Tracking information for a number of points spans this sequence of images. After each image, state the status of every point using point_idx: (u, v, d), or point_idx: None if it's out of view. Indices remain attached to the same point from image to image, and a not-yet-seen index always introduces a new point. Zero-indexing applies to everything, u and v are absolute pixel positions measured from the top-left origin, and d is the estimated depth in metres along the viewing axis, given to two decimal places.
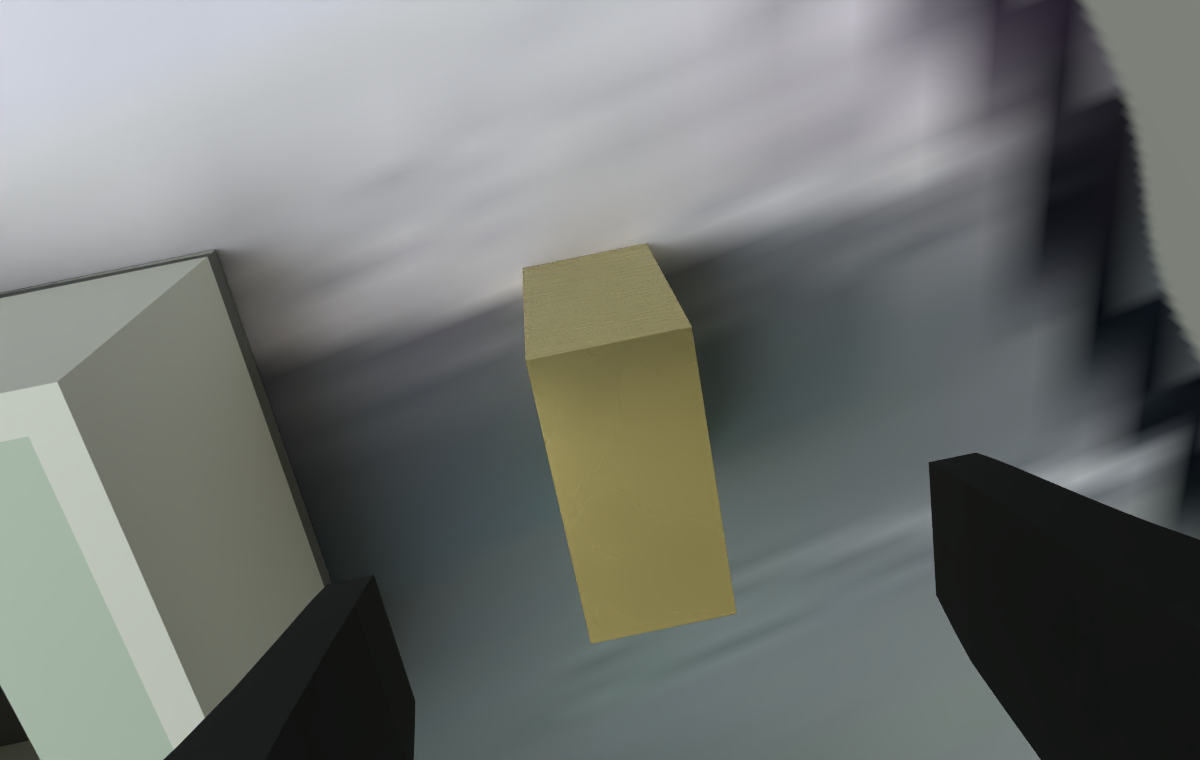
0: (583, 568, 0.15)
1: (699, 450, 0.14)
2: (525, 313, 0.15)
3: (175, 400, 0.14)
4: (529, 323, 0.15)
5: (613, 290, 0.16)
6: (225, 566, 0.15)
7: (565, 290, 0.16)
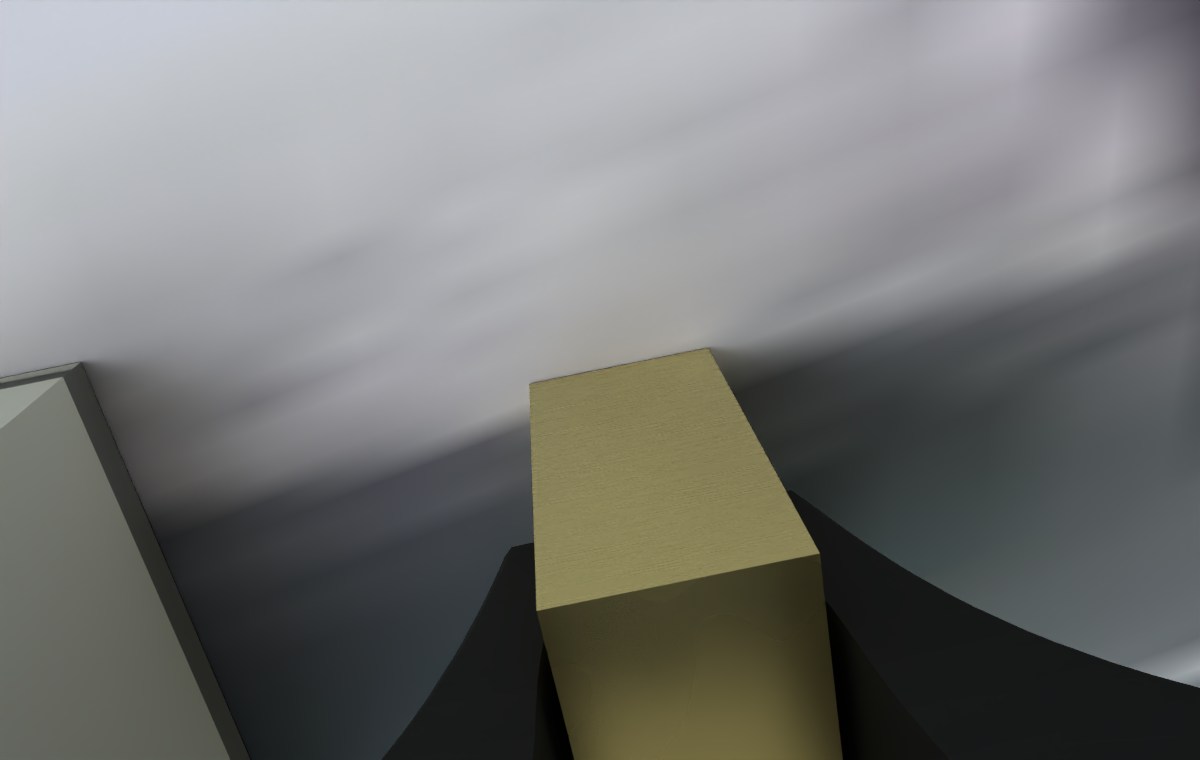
0: None
1: (821, 737, 0.09)
2: (534, 486, 0.10)
3: None
4: (541, 511, 0.09)
5: (670, 447, 0.10)
6: None
7: (595, 439, 0.11)
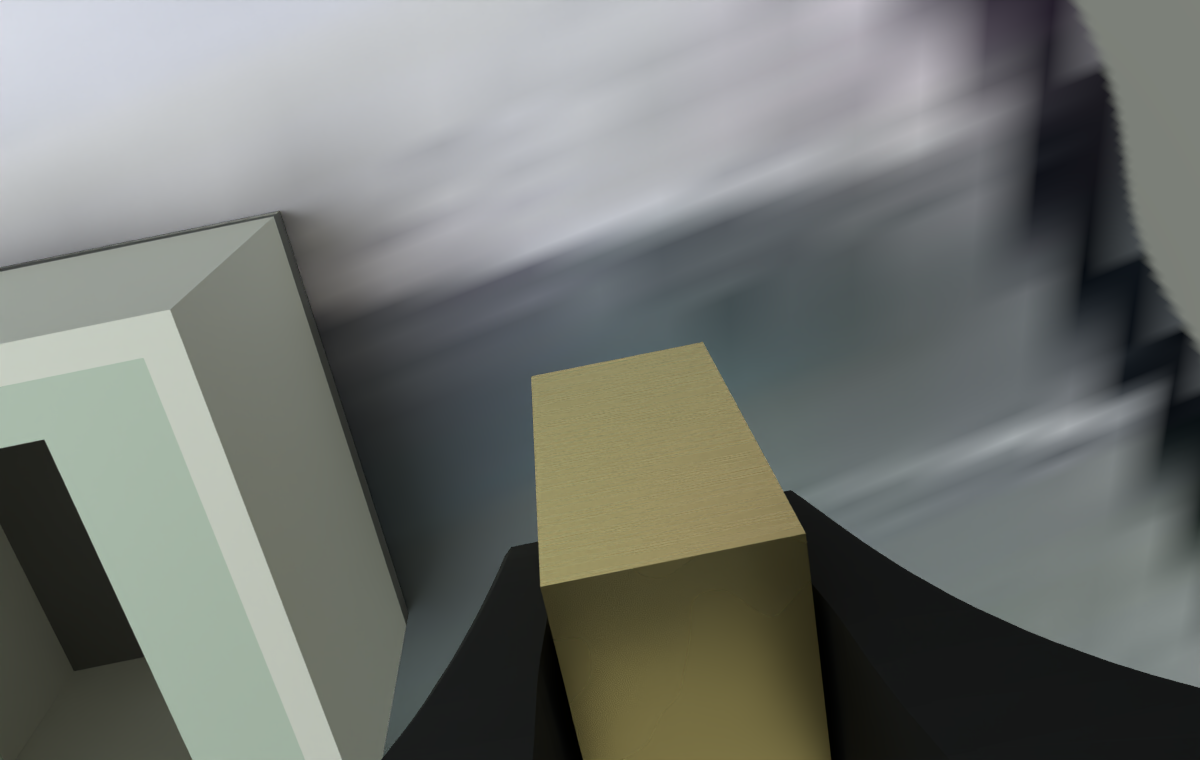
0: None
1: (807, 708, 0.09)
2: (537, 472, 0.10)
3: (254, 338, 0.16)
4: (544, 495, 0.10)
5: (666, 436, 0.11)
6: (296, 488, 0.17)
7: (594, 429, 0.11)
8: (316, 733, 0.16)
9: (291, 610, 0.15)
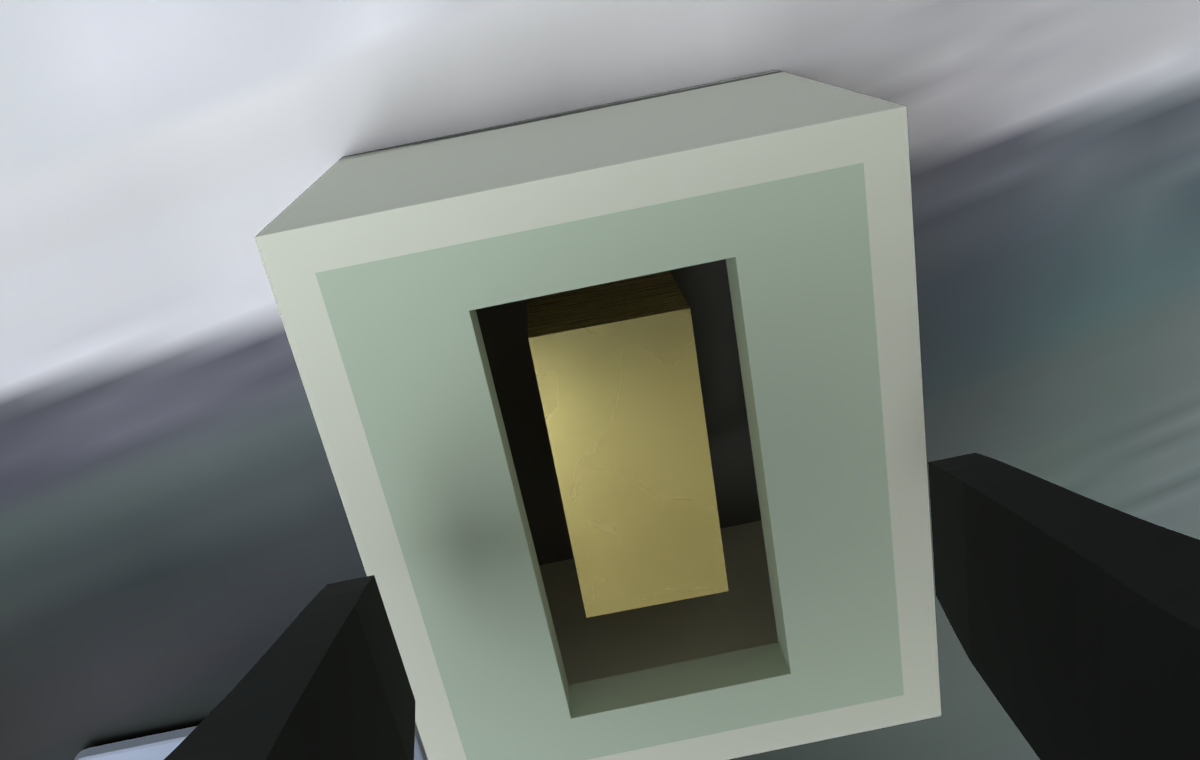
0: (580, 543, 0.15)
1: (695, 429, 0.15)
2: None
3: None
4: (532, 304, 0.15)
5: None
6: None
7: None
8: (919, 603, 0.15)
9: (921, 463, 0.14)
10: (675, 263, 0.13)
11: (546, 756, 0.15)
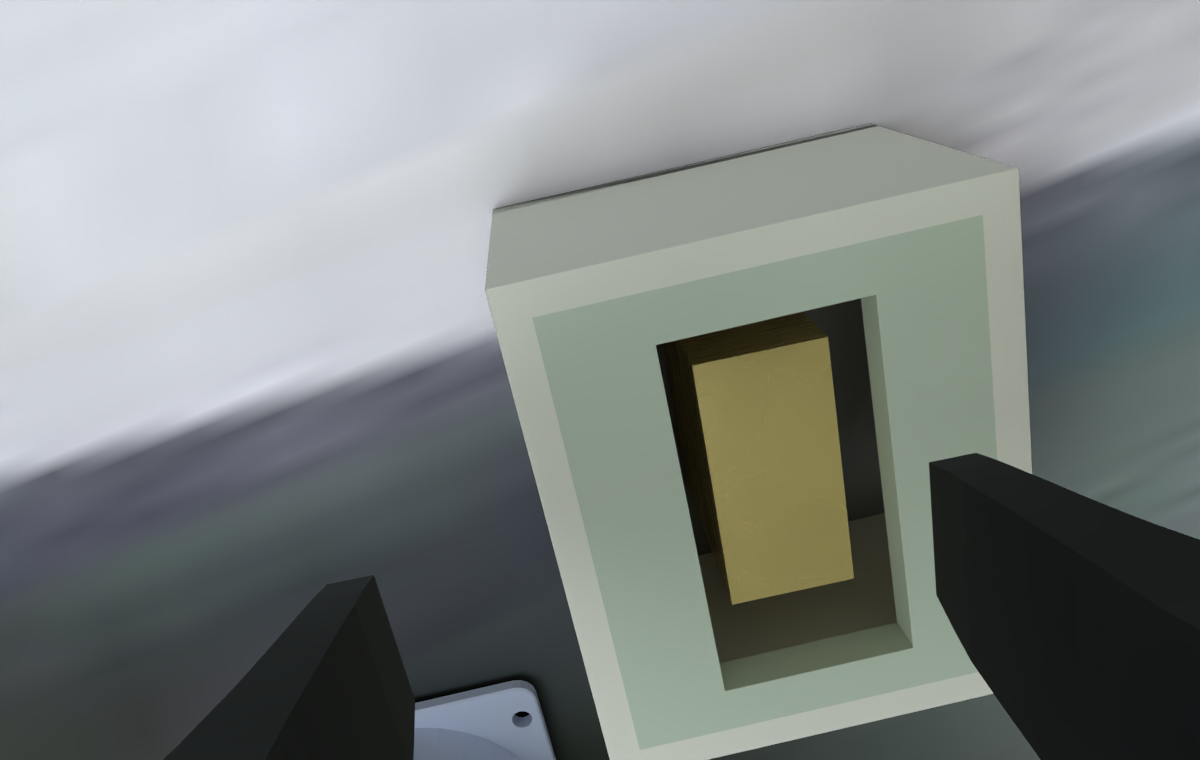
0: (729, 539, 0.18)
1: (829, 439, 0.17)
2: None
3: None
4: None
5: None
6: None
7: None
8: None
9: (1025, 463, 0.17)
10: (826, 301, 0.15)
11: (702, 725, 0.18)
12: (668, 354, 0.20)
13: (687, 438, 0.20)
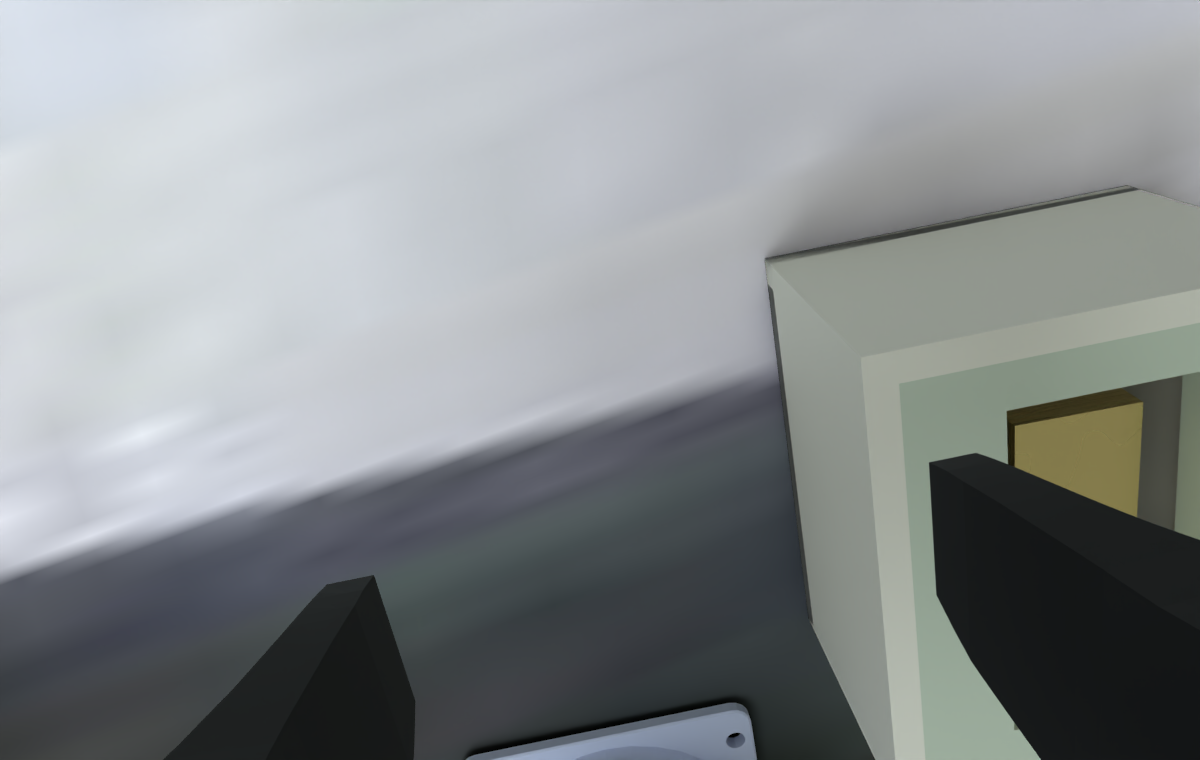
0: None
1: (1129, 496, 0.18)
2: None
3: None
4: None
5: None
6: None
7: None
8: None
9: None
10: (1168, 373, 0.16)
11: None
12: None
13: None
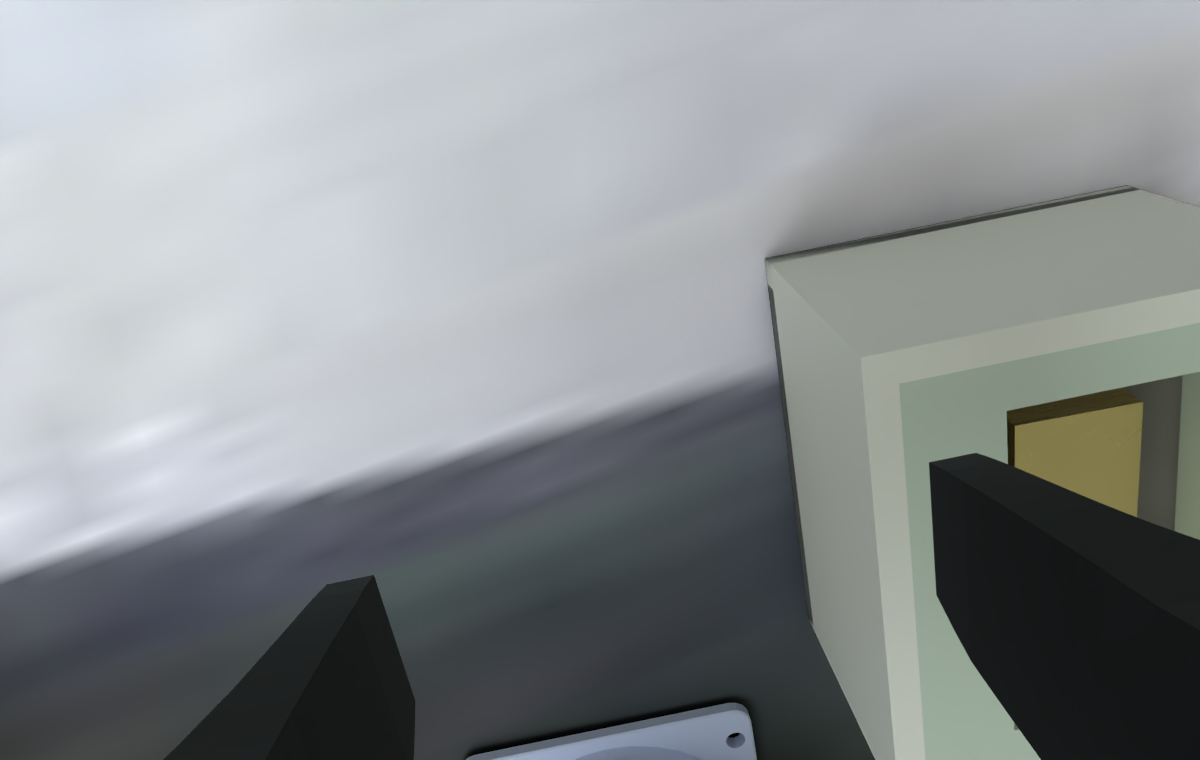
0: None
1: (1129, 496, 0.18)
2: None
3: None
4: None
5: None
6: None
7: None
8: None
9: None
10: (1168, 373, 0.16)
11: None
12: None
13: None
